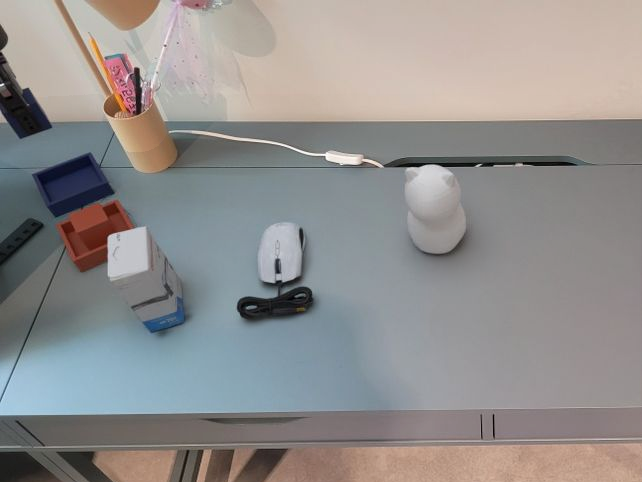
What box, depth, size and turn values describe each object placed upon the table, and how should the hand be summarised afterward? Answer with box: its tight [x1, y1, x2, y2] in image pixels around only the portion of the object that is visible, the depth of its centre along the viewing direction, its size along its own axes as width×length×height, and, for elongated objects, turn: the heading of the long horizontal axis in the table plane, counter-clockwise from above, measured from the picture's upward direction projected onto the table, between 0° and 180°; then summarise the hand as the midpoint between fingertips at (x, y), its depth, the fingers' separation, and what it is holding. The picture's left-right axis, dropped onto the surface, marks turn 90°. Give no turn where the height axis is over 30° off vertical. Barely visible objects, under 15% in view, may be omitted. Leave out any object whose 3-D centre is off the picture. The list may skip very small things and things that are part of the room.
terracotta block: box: [67, 202, 118, 251], centre depth 97 cm, size 4×4×4 cm
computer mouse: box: [236, 221, 314, 320], centre depth 94 cm, size 10×18×4 cm, turn 10°
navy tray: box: [31, 151, 115, 218], centre depth 105 cm, size 9×9×2 cm
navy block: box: [0, 87, 54, 140], centre depth 94 cm, size 4×4×4 cm
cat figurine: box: [403, 164, 467, 255], centre depth 95 cm, size 9×12×15 cm
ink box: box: [107, 225, 185, 333], centre depth 87 cm, size 9×5×12 cm, turn 21°
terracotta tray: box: [55, 198, 135, 273], centre depth 98 cm, size 9×9×2 cm
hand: (30, 122), depth 95 cm, fingers closed on navy block, 4 cm apart
